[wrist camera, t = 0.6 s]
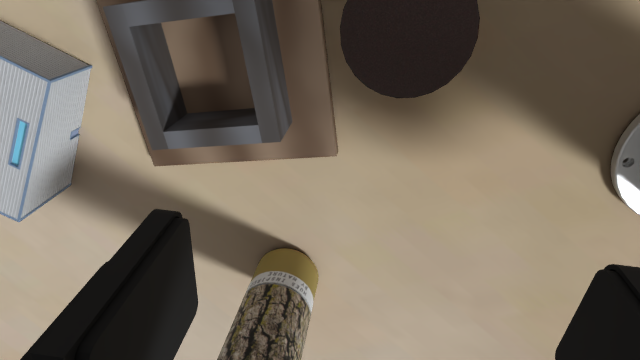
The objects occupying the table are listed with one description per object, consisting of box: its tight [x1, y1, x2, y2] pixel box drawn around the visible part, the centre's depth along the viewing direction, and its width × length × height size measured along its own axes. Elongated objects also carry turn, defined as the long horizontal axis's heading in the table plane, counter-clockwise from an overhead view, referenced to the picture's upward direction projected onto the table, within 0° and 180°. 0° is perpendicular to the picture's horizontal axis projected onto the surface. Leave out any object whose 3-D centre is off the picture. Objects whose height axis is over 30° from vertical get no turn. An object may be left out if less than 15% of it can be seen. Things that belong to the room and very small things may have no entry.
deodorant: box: [340, 0, 480, 98], centre depth 24 cm, size 6×6×15 cm
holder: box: [96, 0, 338, 166], centre depth 33 cm, size 18×18×6 cm
